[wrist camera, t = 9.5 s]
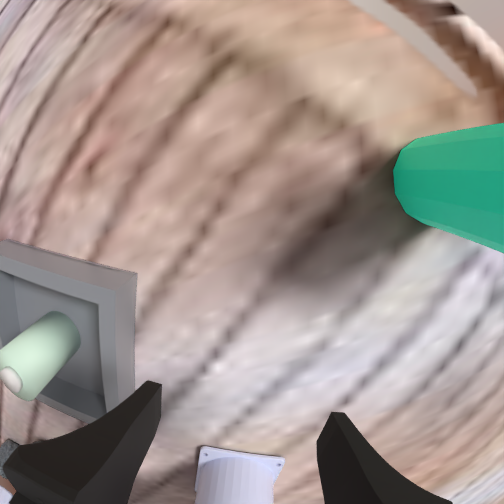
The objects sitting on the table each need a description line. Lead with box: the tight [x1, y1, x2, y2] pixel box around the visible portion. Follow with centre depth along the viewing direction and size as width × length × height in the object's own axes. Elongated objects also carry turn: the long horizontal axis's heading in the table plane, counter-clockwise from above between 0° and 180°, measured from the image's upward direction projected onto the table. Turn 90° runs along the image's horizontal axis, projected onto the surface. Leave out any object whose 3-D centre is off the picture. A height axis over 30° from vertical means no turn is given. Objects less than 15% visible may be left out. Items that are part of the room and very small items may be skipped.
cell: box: [0, 311, 81, 401], centre depth 17 cm, size 4×4×8 cm
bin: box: [0, 239, 137, 424], centre depth 20 cm, size 13×13×4 cm
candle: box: [393, 123, 504, 253], centre depth 12 cm, size 6×6×12 cm
